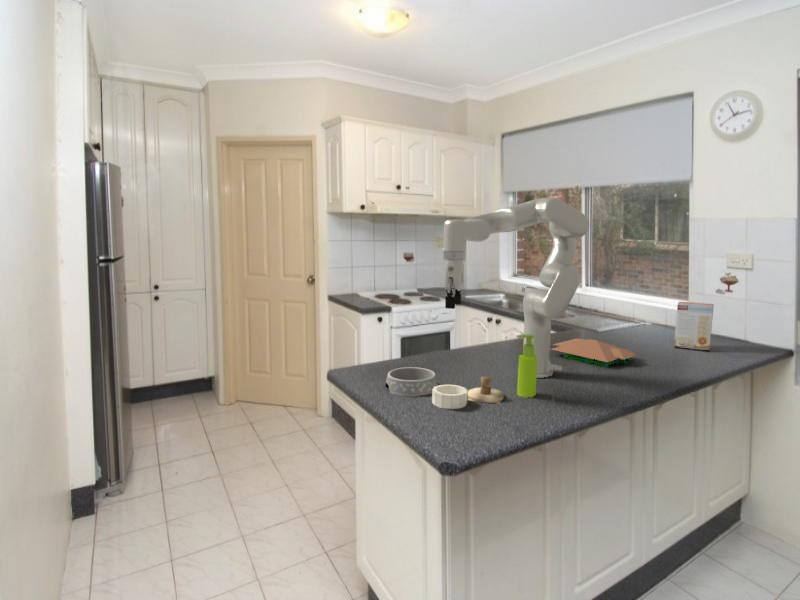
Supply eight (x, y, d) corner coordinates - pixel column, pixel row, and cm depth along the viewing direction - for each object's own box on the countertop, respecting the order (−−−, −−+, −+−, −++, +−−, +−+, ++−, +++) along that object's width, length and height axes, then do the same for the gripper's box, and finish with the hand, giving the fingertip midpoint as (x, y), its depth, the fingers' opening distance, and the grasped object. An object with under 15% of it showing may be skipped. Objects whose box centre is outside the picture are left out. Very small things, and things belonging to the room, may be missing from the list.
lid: (504, 392, 167) (505, 374, 167) (502, 404, 157) (502, 384, 156) (470, 389, 170) (470, 371, 169) (465, 400, 160) (466, 381, 159)
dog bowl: (394, 399, 162) (394, 383, 161) (380, 382, 179) (380, 367, 178) (445, 395, 167) (445, 379, 166) (426, 379, 184) (426, 364, 183)
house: (613, 371, 196) (615, 351, 195) (540, 354, 221) (541, 335, 220) (642, 362, 210) (644, 342, 209) (571, 346, 235) (572, 329, 234)
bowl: (468, 400, 161) (469, 386, 161) (463, 411, 151) (464, 396, 151) (436, 396, 164) (436, 383, 163) (429, 408, 154) (429, 393, 153)
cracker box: (709, 349, 232) (714, 303, 229) (709, 352, 227) (714, 305, 224) (674, 345, 239) (678, 300, 236) (673, 347, 234) (677, 302, 231)
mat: (502, 394, 167) (502, 393, 167) (500, 404, 158) (500, 403, 157) (471, 391, 170) (471, 390, 170) (467, 401, 160) (467, 400, 160)
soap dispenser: (511, 392, 169) (514, 333, 166) (532, 392, 169) (535, 332, 166) (517, 398, 163) (519, 337, 160) (538, 398, 164) (541, 336, 161)
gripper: (460, 258, 165) (458, 310, 168) (470, 255, 182) (468, 303, 184) (437, 257, 168) (436, 309, 170) (449, 254, 184) (448, 302, 186)
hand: (453, 306), depth 177 cm, fingers open, 9 cm apart
